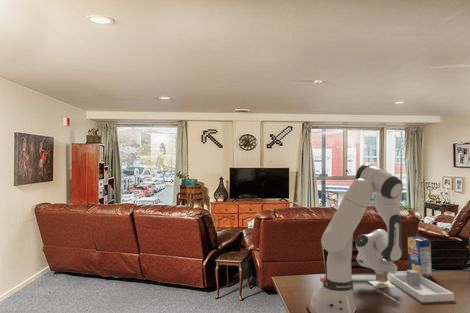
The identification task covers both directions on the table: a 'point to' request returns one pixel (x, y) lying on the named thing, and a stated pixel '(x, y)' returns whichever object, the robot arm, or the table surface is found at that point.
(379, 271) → the banded box
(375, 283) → the sage board
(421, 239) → the beverage box
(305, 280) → the table surface
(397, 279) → the bin
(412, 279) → the grey box
